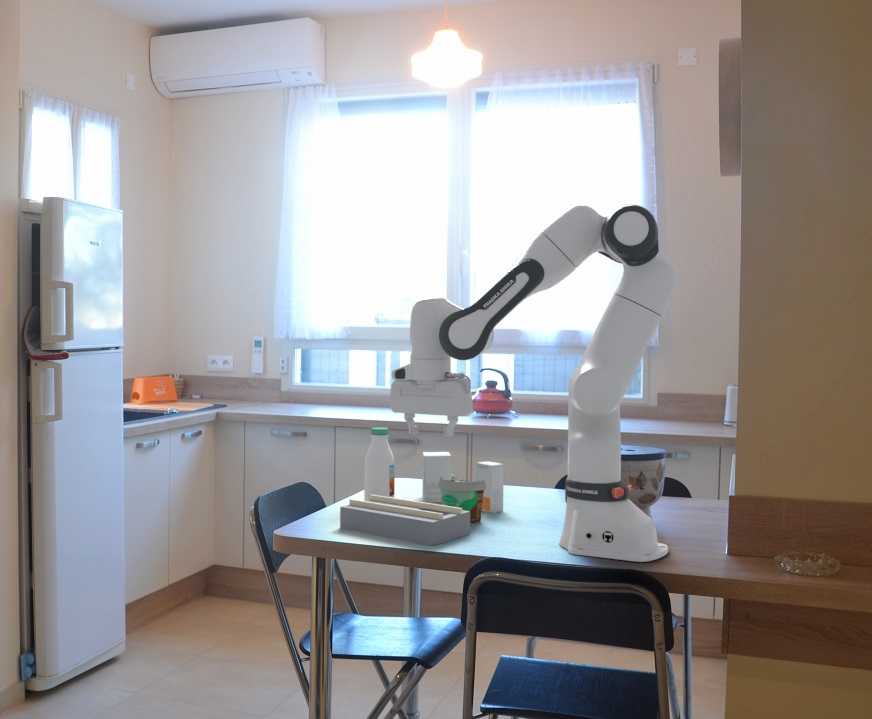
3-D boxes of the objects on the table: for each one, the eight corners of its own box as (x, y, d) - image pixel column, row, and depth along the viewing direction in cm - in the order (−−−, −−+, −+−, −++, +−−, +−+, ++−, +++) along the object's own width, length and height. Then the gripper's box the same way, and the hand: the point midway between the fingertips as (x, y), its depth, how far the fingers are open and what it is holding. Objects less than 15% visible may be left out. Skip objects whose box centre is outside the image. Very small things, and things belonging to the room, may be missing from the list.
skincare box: (475, 509, 219) (475, 462, 219) (488, 507, 222) (488, 460, 222) (491, 513, 214) (491, 465, 214) (504, 511, 217) (504, 463, 217)
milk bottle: (383, 509, 218) (383, 430, 218) (358, 506, 222) (358, 428, 222) (400, 504, 225) (400, 427, 224) (375, 501, 229) (376, 425, 228)
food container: (427, 521, 205) (428, 479, 204) (439, 516, 210) (440, 475, 210) (475, 527, 199) (475, 484, 199) (486, 522, 204) (486, 480, 204)
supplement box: (449, 498, 234) (449, 451, 234) (451, 503, 227) (451, 455, 226) (422, 498, 234) (422, 451, 233) (423, 503, 226) (423, 455, 226)
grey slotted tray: (470, 533, 193) (470, 505, 193) (432, 546, 182) (433, 516, 181) (379, 518, 208) (379, 492, 208) (340, 528, 197) (340, 501, 197)
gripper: (478, 372, 186) (478, 436, 186) (403, 370, 198) (403, 431, 198) (461, 373, 181) (462, 439, 181) (385, 371, 193) (386, 433, 193)
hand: (430, 435), depth 190 cm, fingers open, 8 cm apart
